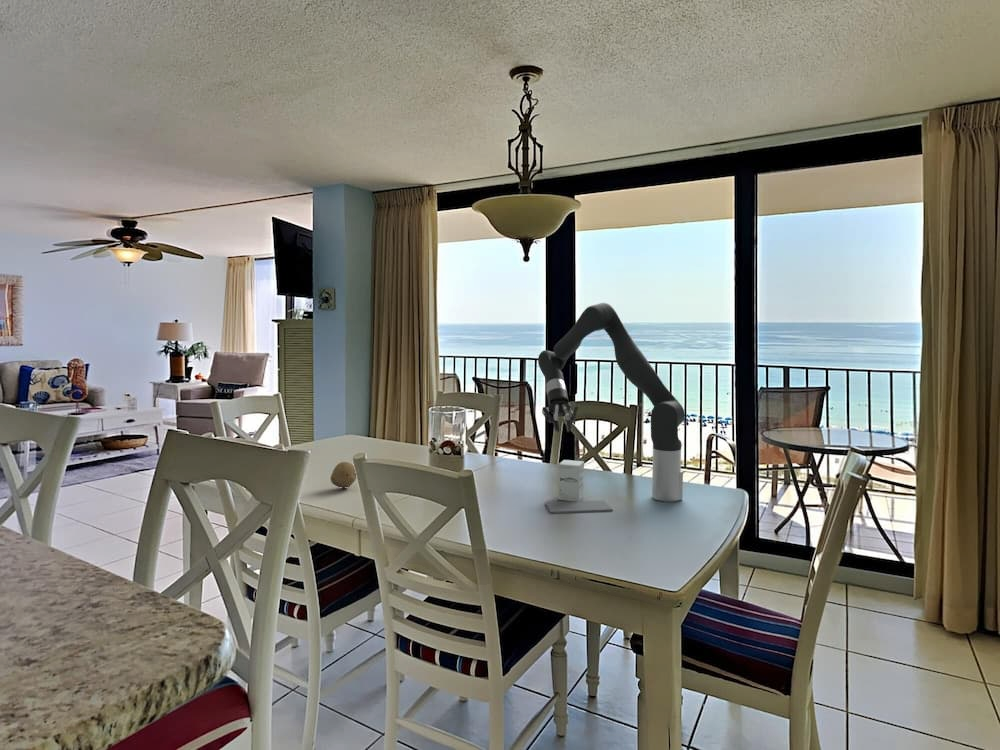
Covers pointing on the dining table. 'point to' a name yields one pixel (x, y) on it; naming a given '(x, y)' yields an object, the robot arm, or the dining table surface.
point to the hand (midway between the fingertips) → (563, 430)
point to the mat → (578, 506)
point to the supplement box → (571, 480)
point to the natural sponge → (343, 475)
